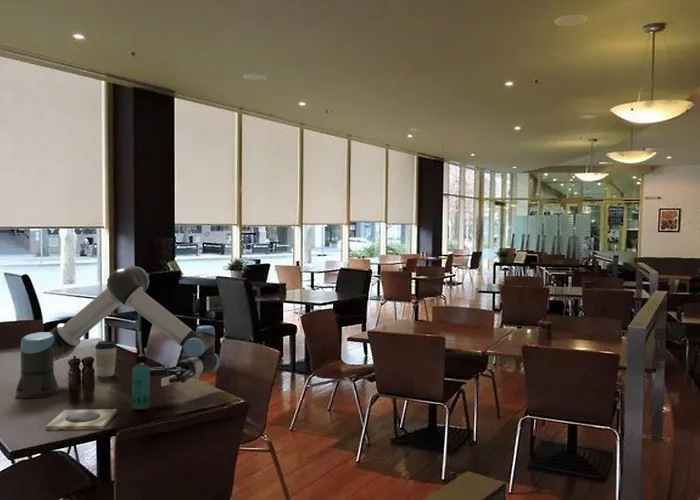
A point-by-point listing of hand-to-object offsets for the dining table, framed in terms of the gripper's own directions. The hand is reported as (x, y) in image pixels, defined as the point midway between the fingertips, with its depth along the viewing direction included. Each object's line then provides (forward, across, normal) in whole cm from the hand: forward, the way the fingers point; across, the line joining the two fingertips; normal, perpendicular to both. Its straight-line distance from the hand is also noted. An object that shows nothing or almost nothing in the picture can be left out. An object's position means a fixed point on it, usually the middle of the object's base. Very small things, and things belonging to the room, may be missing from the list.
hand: (148, 379), depth 227 cm
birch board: (+22, +8, -11) cm, 25 cm away
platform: (-43, +49, -12) cm, 66 cm away
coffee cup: (-26, +54, -11) cm, 61 cm away
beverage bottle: (+3, +1, -11) cm, 11 cm away
